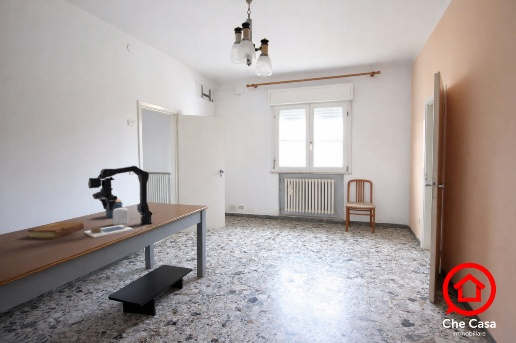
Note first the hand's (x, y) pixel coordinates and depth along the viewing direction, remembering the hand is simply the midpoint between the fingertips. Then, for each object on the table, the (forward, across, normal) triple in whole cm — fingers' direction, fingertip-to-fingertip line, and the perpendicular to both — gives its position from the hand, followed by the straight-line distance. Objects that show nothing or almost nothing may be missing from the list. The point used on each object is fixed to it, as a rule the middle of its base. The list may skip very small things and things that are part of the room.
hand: (107, 209), depth 181 cm
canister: (+14, -40, +20) cm, 47 cm away
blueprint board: (+14, +4, -1) cm, 15 cm away
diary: (+14, -17, -25) cm, 33 cm away
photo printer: (+14, -12, +13) cm, 23 cm away
